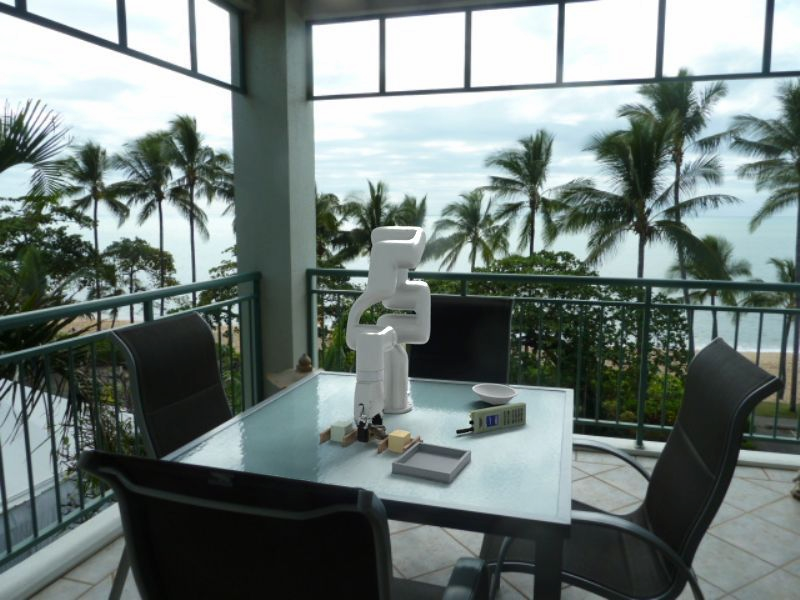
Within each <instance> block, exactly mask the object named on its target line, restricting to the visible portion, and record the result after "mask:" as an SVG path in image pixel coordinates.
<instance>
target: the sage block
mask: <svg viewBox="0 0 800 600" xmlns="http://www.w3.org/2000/svg"><path fill="white" fill-rule="evenodd" d="M330 427H331V438H330V441H334V442H339V443H343V437H344V436H346V435H347V434H349V433H351V432H352V428H353V422H351V421H345V420H339V419H338V420H337V421H335V422H334V423H331V424H330Z"/></svg>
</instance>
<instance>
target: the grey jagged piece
mask: <svg viewBox="0 0 800 600" xmlns="http://www.w3.org/2000/svg"><path fill="white" fill-rule="evenodd" d="M367 428H369V432H370V434H369V442H372V441H373V440H378V441H382V440H384V439H385V438H386V434H387V432H386V431H387V427H386V425H385V424H383V425H374V424H372V422H368V426H367Z"/></svg>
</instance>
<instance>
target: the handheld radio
mask: <svg viewBox="0 0 800 600" xmlns="http://www.w3.org/2000/svg"><path fill="white" fill-rule="evenodd" d="M468 412H469V413H470V414H469V418H470V420H469V421H468V424H469V425H470V427H466V428H461V429H456V430H455V433H456V435H462V434H467V433H473V434H480V433H481V434H482V433H485V432H492V431H495V430H501V429H507V428H511V427H516V426H521V425H522V426H523V425H526V424H527V403H526V402H524V401H523V402H520V401H519V402H515V403H511V404H502V405H498V406H497V405H496V406H491V407H486V408H481V409H475V410H470V411H468Z"/></svg>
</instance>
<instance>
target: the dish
mask: <svg viewBox="0 0 800 600" xmlns="http://www.w3.org/2000/svg"><path fill="white" fill-rule="evenodd" d="M471 391H472V392H474V393H475V394H476V396H477V397H478V398H479V399H480V401H483V402H485V403H487V404H491V405H492V406H497V405H505V404H506V403H509V402H510V401H511V400H513V399H514V398H515V397H517V396H518V394H519V393H518V391H517V390H516V388H513V387H510V386H507V385H505V384H504V385H503V384H499V383H479V384H476V385H473V386H472V388H471Z"/></svg>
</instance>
